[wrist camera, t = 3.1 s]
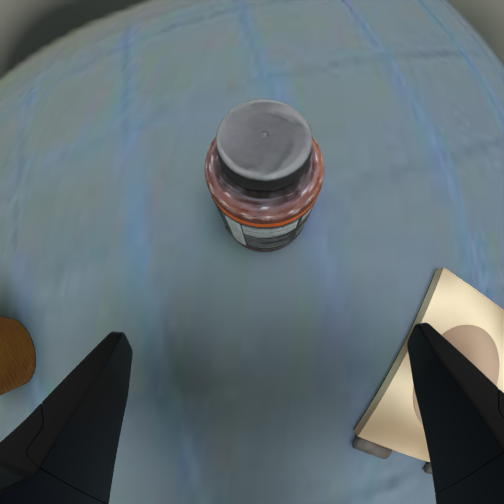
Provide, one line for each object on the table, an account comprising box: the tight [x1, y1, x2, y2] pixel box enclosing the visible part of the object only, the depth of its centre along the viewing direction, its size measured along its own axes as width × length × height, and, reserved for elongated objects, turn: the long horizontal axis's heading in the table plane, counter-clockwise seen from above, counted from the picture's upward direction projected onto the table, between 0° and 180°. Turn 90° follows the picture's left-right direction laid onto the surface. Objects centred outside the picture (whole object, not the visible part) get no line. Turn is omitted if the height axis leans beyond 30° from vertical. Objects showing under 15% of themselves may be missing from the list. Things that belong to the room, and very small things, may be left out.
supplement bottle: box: [205, 99, 324, 251], centre depth 18 cm, size 6×6×11 cm
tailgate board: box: [353, 268, 504, 474], centre depth 20 cm, size 15×12×1 cm
